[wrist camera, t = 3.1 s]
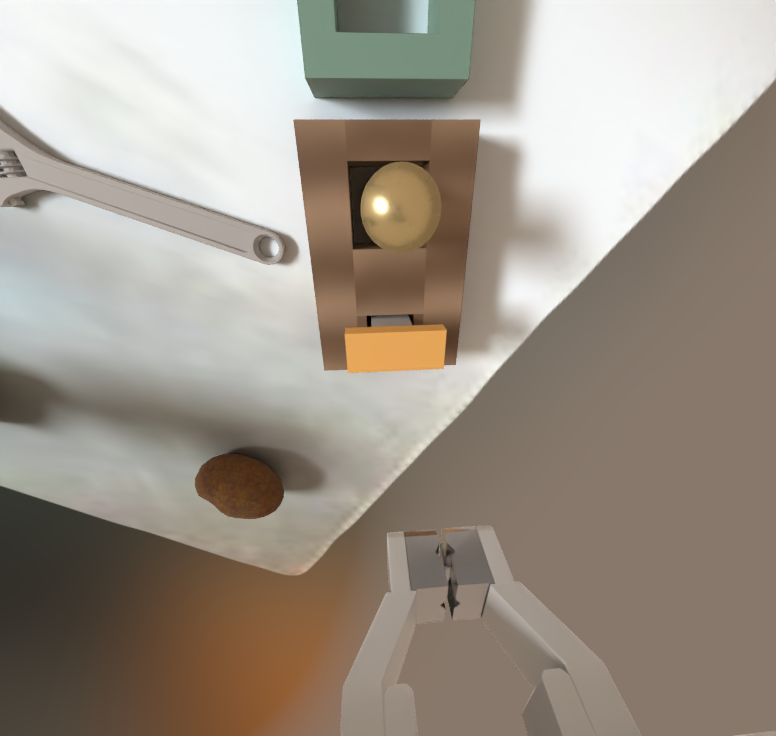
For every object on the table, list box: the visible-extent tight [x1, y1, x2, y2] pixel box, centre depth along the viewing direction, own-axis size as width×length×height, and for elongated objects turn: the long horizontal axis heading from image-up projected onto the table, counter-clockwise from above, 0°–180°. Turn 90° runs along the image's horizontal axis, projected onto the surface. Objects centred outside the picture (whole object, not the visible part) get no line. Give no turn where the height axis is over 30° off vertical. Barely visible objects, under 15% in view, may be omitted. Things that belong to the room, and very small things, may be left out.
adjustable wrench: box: [0, 120, 285, 265], centre depth 24 cm, size 25×6×2 cm, turn 66°
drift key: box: [345, 314, 447, 373], centre depth 25 cm, size 3×7×6 cm, turn 91°
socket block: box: [294, 120, 480, 370], centre depth 26 cm, size 18×12×4 cm, turn 1°
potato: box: [195, 454, 284, 519], centre depth 35 cm, size 7×10×6 cm
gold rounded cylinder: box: [360, 162, 442, 253], centre depth 21 cm, size 4×4×12 cm
